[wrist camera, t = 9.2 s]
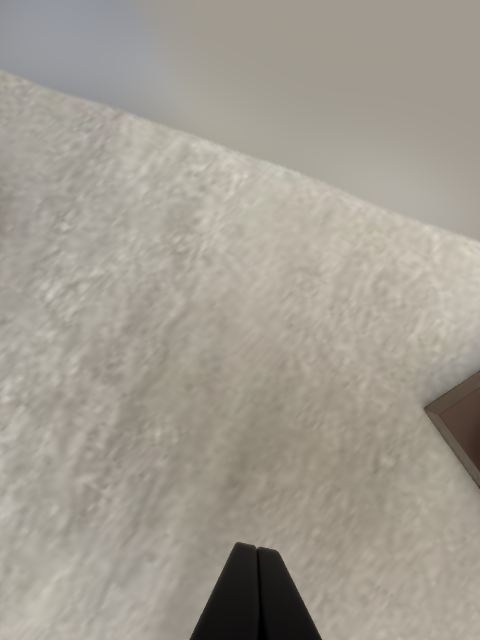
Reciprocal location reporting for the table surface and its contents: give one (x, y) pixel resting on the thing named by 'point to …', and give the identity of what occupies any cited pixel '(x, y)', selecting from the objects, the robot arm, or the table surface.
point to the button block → (461, 422)
